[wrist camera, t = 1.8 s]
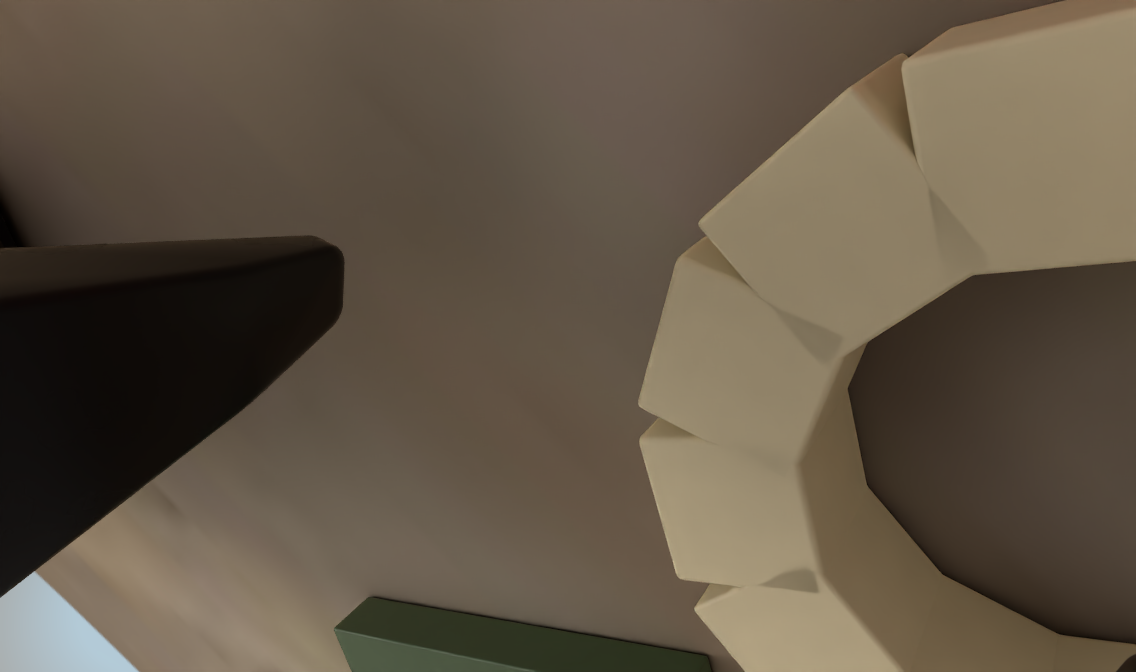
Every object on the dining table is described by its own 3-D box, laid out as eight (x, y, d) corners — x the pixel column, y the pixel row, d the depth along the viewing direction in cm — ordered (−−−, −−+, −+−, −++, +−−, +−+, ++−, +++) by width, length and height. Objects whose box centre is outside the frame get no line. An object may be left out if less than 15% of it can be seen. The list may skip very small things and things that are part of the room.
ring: (784, 699, 15) (737, 800, 14) (635, 103, 12) (549, 140, 11) (1731, 883, 9) (1852, 1105, 8) (1902, -204, 6) (2171, -231, 5)
